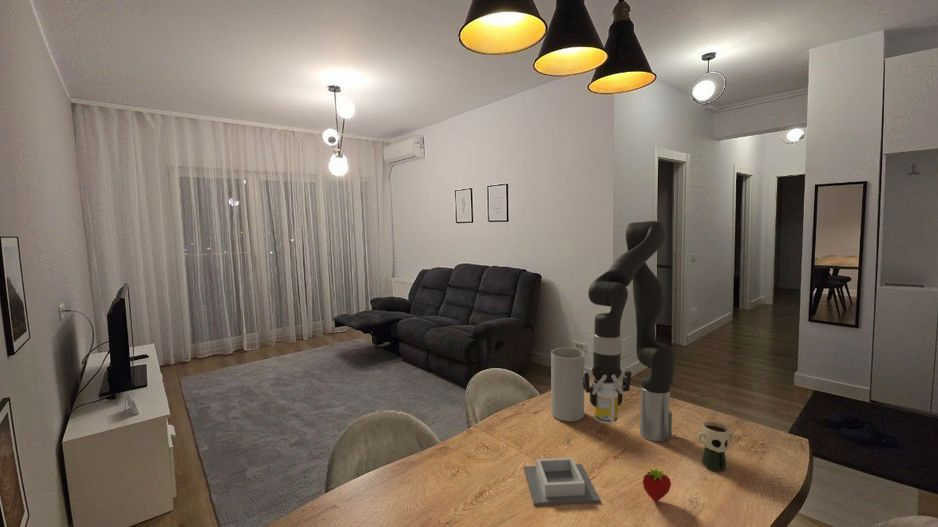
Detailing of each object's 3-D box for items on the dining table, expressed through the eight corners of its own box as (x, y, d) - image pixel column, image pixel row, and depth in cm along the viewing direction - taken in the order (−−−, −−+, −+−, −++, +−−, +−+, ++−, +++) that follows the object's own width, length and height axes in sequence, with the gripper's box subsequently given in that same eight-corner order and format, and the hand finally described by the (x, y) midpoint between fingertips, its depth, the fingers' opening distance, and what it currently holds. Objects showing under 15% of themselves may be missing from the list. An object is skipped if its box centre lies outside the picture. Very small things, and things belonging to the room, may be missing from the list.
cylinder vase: (587, 422, 151) (588, 358, 148) (554, 422, 151) (554, 358, 148) (579, 407, 163) (579, 347, 161) (548, 407, 163) (548, 348, 161)
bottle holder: (581, 466, 124) (581, 453, 124) (600, 502, 108) (600, 487, 108) (523, 468, 124) (523, 455, 123) (533, 505, 108) (533, 490, 107)
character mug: (704, 475, 119) (706, 433, 117) (689, 461, 126) (691, 421, 124) (739, 472, 119) (741, 431, 118) (722, 458, 126) (724, 419, 125)
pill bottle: (614, 414, 121) (615, 377, 120) (620, 424, 115) (621, 385, 113) (592, 413, 122) (592, 376, 120) (596, 424, 115) (597, 385, 114)
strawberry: (676, 506, 106) (677, 470, 105) (651, 511, 104) (652, 475, 103) (660, 491, 112) (661, 457, 111) (636, 496, 110) (637, 462, 109)
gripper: (625, 345, 120) (624, 398, 122) (578, 346, 119) (577, 400, 121) (637, 353, 112) (635, 410, 114) (586, 354, 112) (585, 411, 114)
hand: (605, 404), depth 118 cm, fingers closed on pill bottle, 6 cm apart
